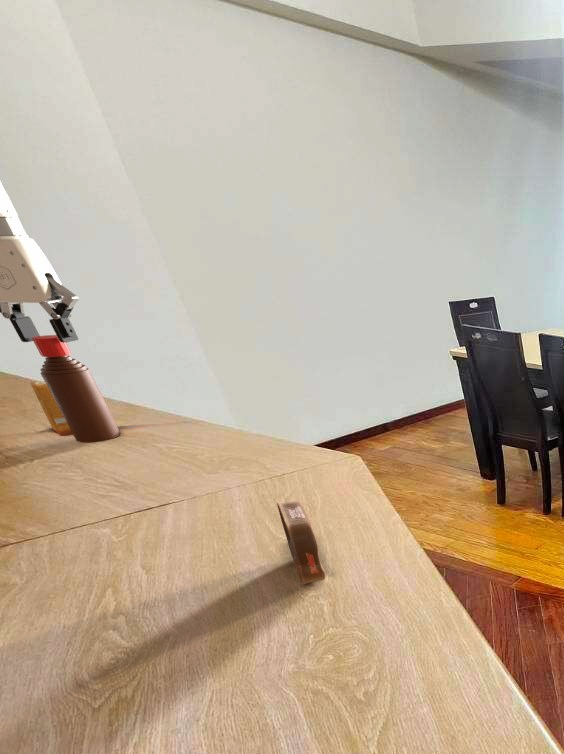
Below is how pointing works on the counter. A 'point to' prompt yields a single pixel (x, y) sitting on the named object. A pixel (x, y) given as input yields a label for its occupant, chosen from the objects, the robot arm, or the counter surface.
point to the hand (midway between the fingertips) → (50, 339)
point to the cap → (51, 346)
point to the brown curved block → (301, 541)
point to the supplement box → (51, 408)
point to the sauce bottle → (79, 399)
